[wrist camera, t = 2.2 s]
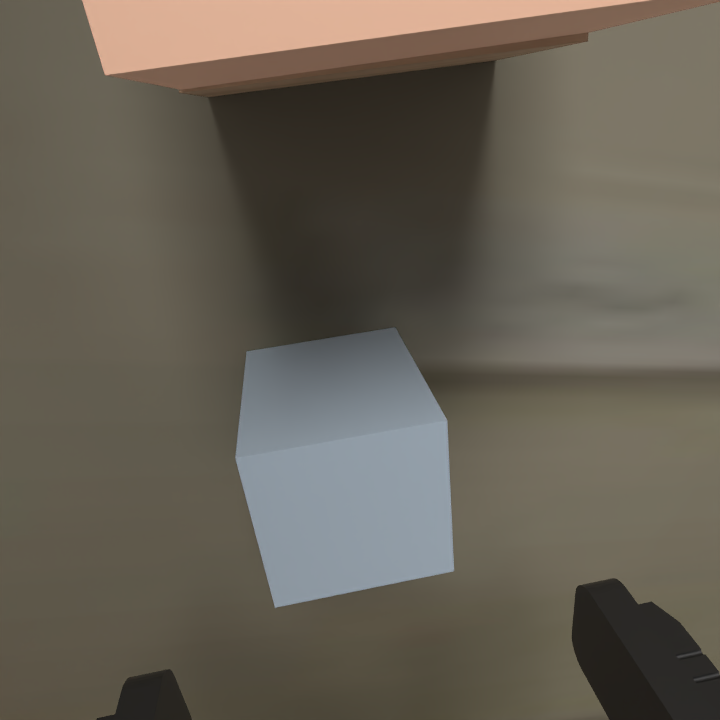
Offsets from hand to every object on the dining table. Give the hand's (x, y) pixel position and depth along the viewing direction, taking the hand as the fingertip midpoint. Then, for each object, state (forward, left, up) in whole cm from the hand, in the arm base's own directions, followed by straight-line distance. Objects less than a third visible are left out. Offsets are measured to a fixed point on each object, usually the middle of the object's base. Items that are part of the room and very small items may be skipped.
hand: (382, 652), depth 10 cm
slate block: (0, 0, -10) cm, 10 cm away
